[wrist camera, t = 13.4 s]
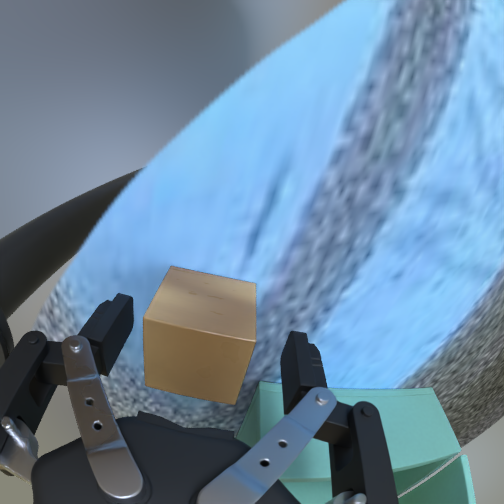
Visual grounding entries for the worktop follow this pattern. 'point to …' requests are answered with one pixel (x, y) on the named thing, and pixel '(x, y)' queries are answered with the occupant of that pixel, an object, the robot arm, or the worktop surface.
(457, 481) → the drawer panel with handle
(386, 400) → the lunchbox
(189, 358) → the block
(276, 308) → the worktop surface
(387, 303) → the worktop surface
